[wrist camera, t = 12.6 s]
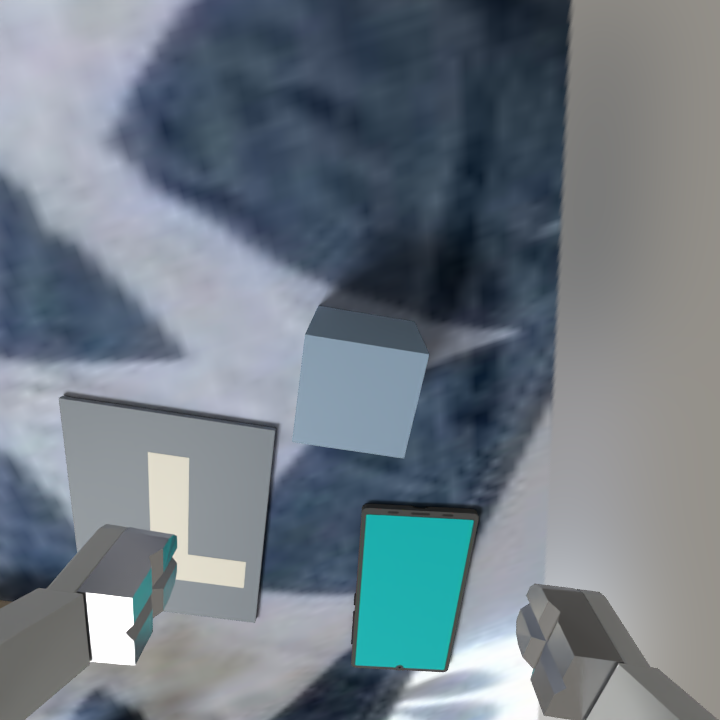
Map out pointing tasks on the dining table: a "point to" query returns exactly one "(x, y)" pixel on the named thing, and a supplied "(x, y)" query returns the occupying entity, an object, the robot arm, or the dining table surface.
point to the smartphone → (410, 585)
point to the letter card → (176, 494)
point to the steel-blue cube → (359, 382)
